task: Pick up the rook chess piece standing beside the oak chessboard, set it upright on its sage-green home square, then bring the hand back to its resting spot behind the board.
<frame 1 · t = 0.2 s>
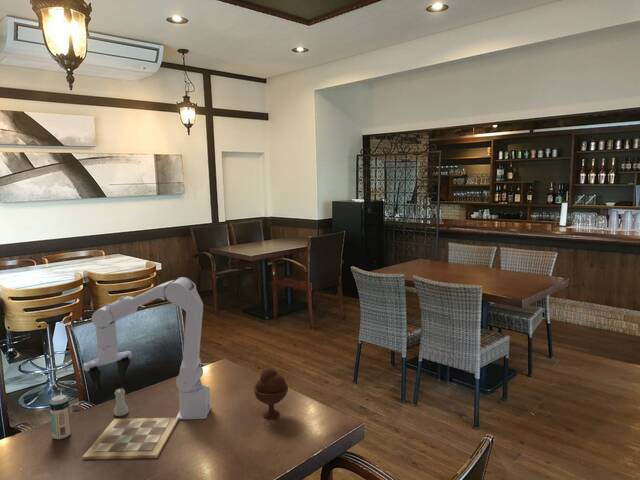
hand: (110, 385, 145), 10 cm above the table, tool pointing down, fingers open, 7 cm apart
chessboard: (134, 438, 132), on the table
ice cream bowl: (271, 415, 145), on the table
rook chess piece: (121, 414, 147), on the table
white labeled bottle: (62, 436, 134), on the table
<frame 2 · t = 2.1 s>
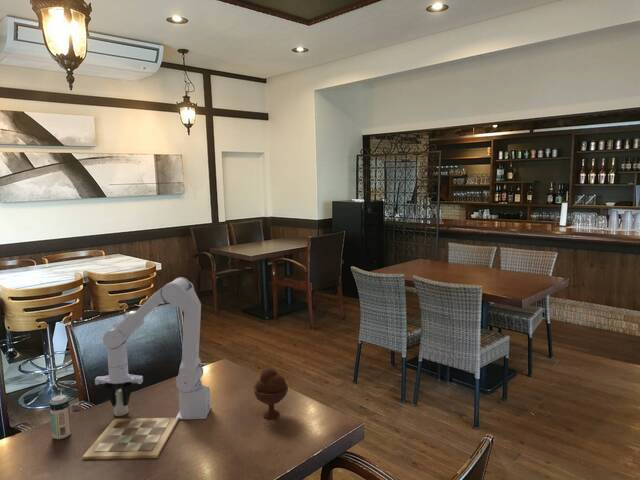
hand: (120, 404, 147), 3 cm above the table, tool pointing down, fingers closed on rook chess piece, 3 cm apart
rook chess piece: (121, 413, 147), on the table, touching gripper
everything else where it was.
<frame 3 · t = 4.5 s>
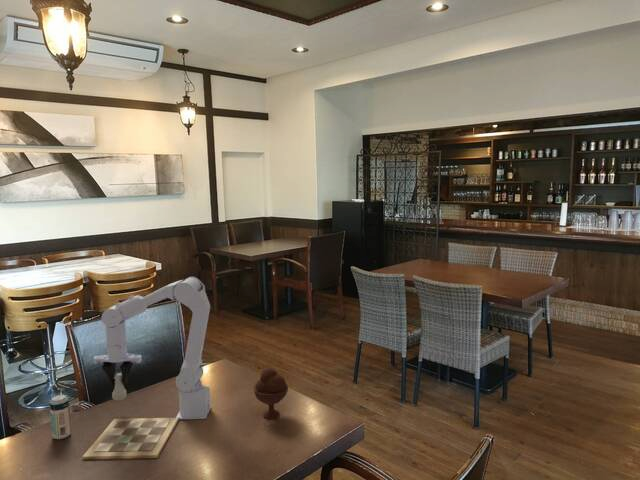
hand: (119, 384, 146), 10 cm above the table, tool pointing down, fingers closed on rook chess piece, 3 cm apart
rook chess piece: (119, 397, 146), point 5 cm above the table, touching gripper
everything else where it was.
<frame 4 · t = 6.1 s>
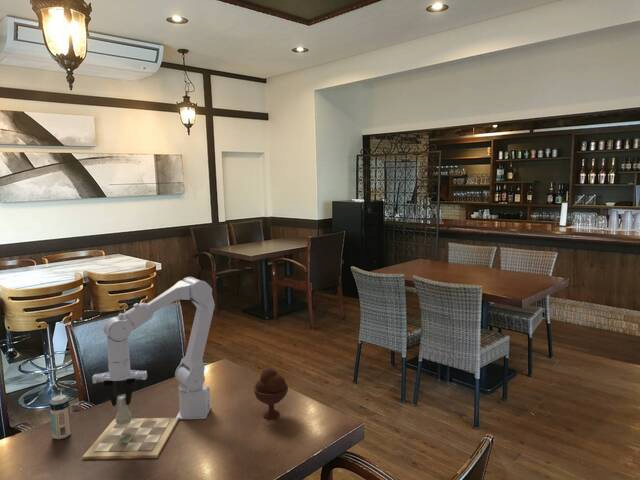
hand: (121, 404, 132), 10 cm above the table, tool pointing down, fingers closed on rook chess piece, 3 cm apart
rook chess piece: (124, 421, 134), point 4 cm above the table, touching gripper
everything else where it was.
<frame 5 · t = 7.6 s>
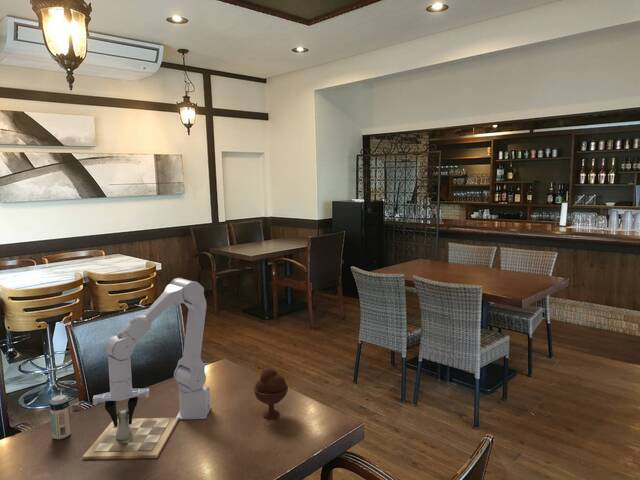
hand: (123, 423, 130), 6 cm above the table, tool pointing down, fingers closed on rook chess piece, 3 cm apart
rook chess piece: (124, 437, 131), point 1 cm above the table, touching chessboard, gripper
everything else where it was.
when the fingers open (5 cm above the table, at t = 8.1 s): rook chess piece stays where it is, resting on chessboard.
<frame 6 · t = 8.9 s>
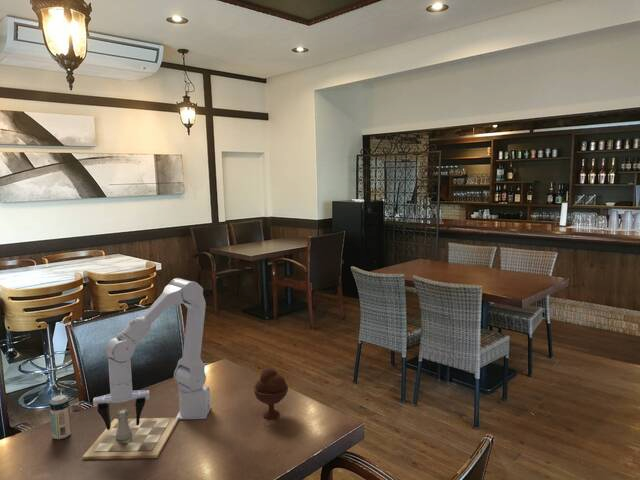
hand: (123, 425, 130), 5 cm above the table, tool pointing down, fingers open, 7 cm apart
rook chess piece: (124, 437, 131), point 1 cm above the table, touching chessboard
everything else where it was.
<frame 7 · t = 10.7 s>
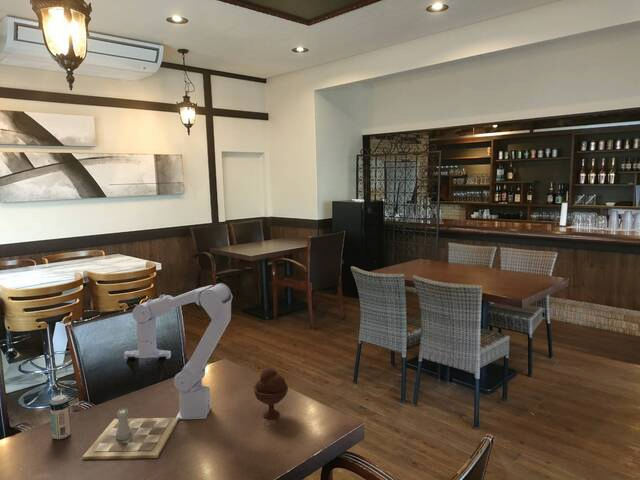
hand: (148, 378, 148), 10 cm above the table, tool pointing down, fingers open, 7 cm apart
nothing on the table moved.
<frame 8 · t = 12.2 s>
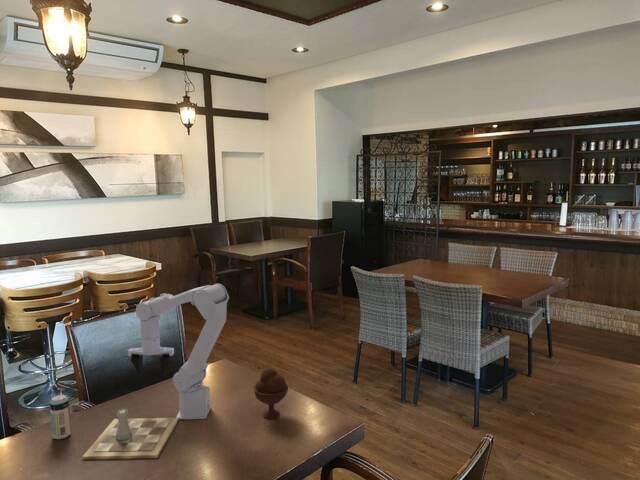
hand: (152, 375, 151), 10 cm above the table, tool pointing down, fingers open, 7 cm apart
nothing on the table moved.
at the end: rook chess piece 1.3 cm from the target spot on the chessboard, point 0.8 cm above the chessboard's base; rook chess piece tilted 0°; the gripper is holding nothing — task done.
